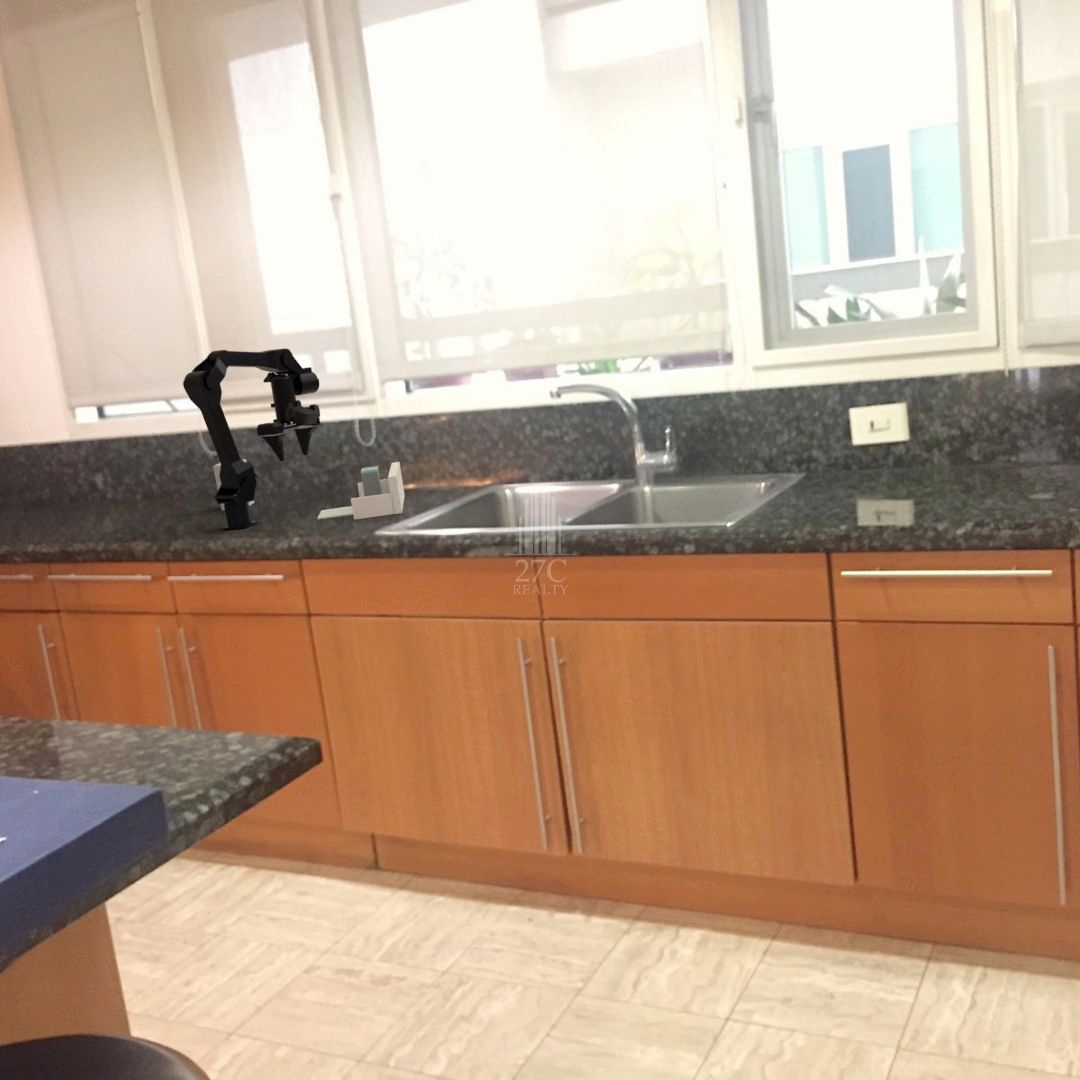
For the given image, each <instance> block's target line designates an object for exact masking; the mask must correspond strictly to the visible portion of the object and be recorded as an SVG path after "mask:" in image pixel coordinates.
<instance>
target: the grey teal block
mask: <svg viewBox="0 0 1080 1080" xmlns="http://www.w3.org/2000/svg"><path fill="white" fill-rule="evenodd" d="M360 476H361V482H362V484H363V490H364V496H365V497H366V496H373V495H380V494H382V489H381V483H380V480H381V477H380V470H379V465H377V466H375V465H374V466H368V467H363V468H361V470H360Z"/></svg>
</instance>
